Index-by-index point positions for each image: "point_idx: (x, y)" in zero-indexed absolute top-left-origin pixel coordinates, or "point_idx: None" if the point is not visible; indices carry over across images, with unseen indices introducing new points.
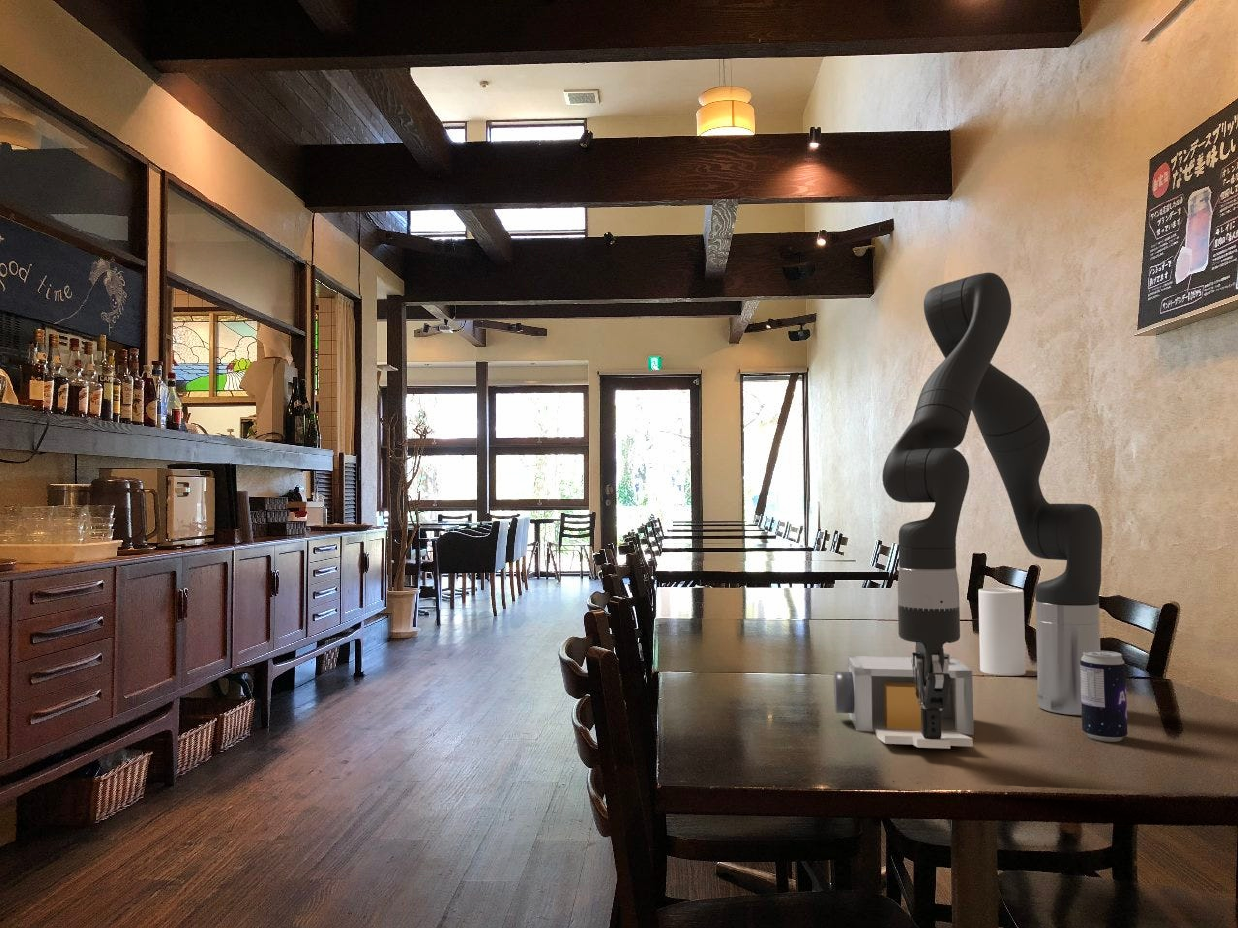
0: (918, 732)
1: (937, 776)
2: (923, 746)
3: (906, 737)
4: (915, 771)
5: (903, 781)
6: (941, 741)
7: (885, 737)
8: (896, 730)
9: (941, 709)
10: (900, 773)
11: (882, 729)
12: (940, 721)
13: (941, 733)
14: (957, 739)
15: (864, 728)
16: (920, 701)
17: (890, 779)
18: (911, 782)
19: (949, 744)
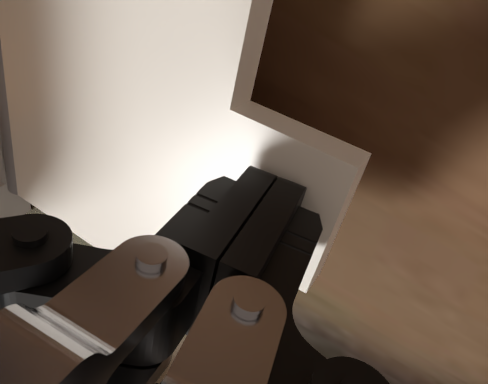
0: (59, 98)
1: (433, 204)
2: (326, 256)
3: None
4: (353, 239)
5: (447, 332)
6: (345, 202)
7: None
8: (23, 143)
9: (282, 304)
10: (362, 291)
11: (14, 175)
12: (280, 235)
13: (64, 5)
14: (247, 40)
15: (3, 207)
16: (163, 371)
17: (413, 349)
18: (467, 319)
19: (364, 162)
